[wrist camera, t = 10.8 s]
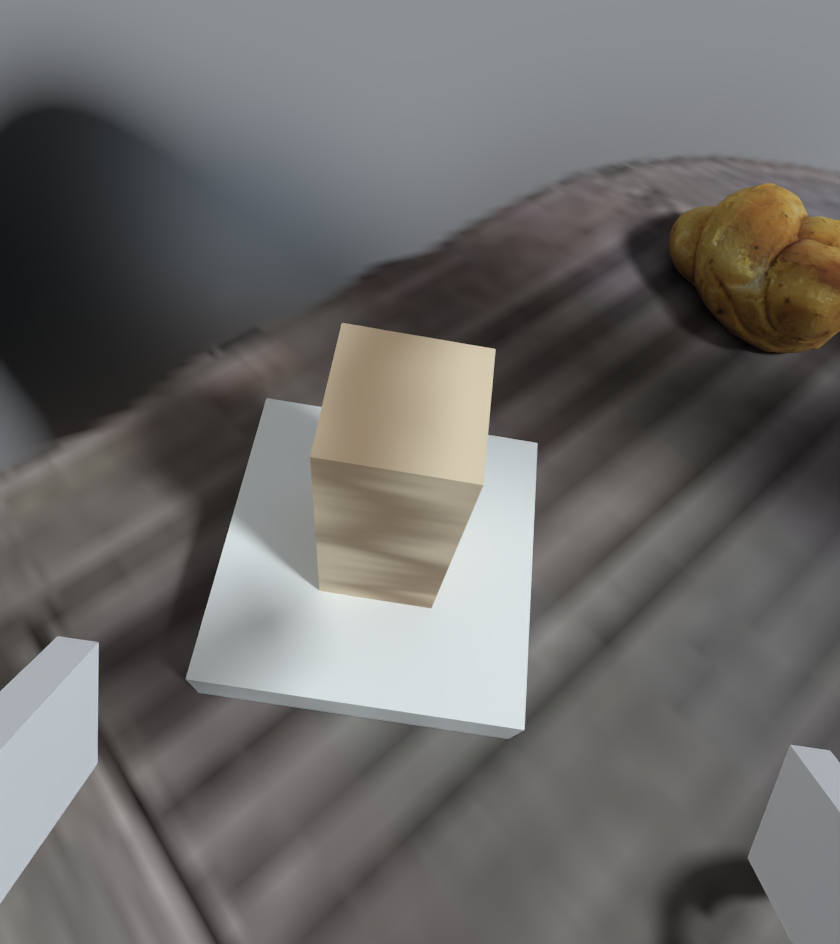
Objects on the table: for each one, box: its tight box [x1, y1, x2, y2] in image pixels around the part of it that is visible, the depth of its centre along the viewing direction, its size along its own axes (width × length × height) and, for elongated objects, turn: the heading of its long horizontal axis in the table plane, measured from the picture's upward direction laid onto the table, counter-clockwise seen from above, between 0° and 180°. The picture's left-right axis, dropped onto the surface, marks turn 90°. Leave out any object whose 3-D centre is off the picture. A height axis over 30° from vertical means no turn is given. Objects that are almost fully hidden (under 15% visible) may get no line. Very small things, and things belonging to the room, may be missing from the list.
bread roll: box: [669, 183, 840, 353], centre depth 42 cm, size 13×10×8 cm
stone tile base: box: [186, 398, 538, 739], centre depth 32 cm, size 14×14×3 cm
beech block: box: [310, 323, 496, 608], centre depth 25 cm, size 5×5×12 cm
